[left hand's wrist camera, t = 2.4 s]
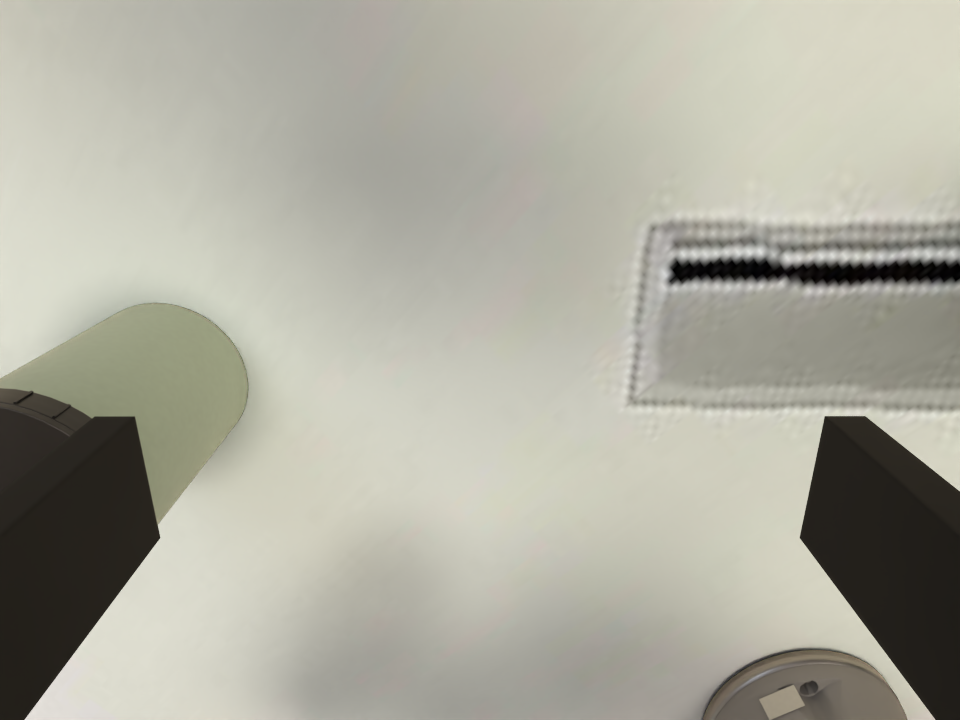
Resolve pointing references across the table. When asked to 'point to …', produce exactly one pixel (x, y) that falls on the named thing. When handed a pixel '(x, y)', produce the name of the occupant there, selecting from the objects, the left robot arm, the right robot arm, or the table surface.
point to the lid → (32, 429)
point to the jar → (150, 387)
